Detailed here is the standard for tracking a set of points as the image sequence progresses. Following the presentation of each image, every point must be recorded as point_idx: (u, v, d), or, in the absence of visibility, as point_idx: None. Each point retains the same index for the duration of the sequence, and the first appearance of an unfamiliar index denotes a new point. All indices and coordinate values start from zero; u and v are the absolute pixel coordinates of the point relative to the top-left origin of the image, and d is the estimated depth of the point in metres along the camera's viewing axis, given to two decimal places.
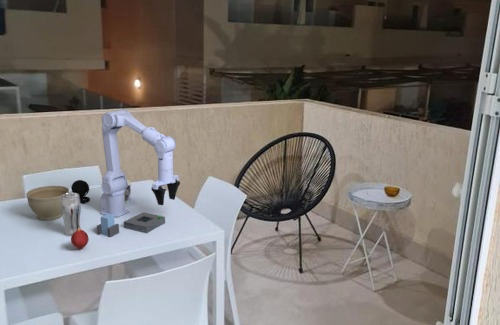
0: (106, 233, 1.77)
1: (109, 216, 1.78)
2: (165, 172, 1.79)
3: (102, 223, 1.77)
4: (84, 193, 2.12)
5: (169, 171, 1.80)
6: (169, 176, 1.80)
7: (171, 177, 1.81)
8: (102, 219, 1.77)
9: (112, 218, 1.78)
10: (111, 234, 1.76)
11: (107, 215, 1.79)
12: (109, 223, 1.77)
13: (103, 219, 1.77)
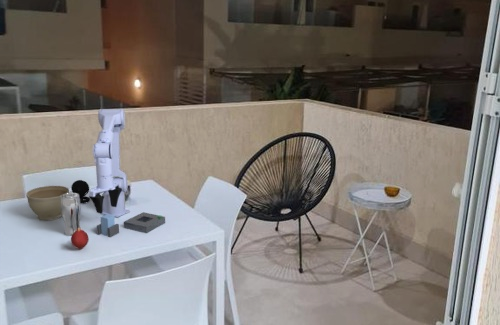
0: (106, 233, 1.77)
1: (109, 216, 1.78)
2: (103, 178, 1.71)
3: (102, 223, 1.77)
4: (84, 193, 2.12)
5: (108, 177, 1.72)
6: (108, 183, 1.72)
7: (110, 184, 1.73)
8: (102, 219, 1.77)
9: (112, 218, 1.78)
10: (111, 234, 1.76)
11: (107, 215, 1.79)
12: (109, 223, 1.77)
13: (103, 219, 1.77)
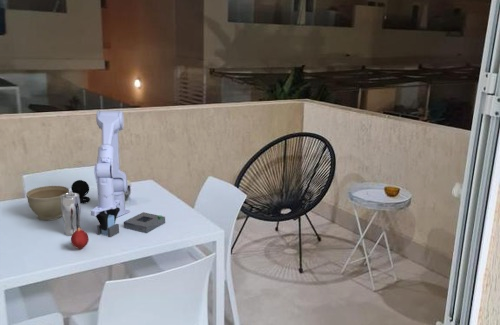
0: (106, 233, 1.77)
1: (109, 216, 1.78)
2: (104, 198, 1.73)
3: None
4: (84, 193, 2.12)
5: (109, 197, 1.74)
6: (109, 202, 1.74)
7: (111, 203, 1.75)
8: None
9: (112, 218, 1.78)
10: (111, 234, 1.76)
11: None
12: (109, 223, 1.77)
13: None
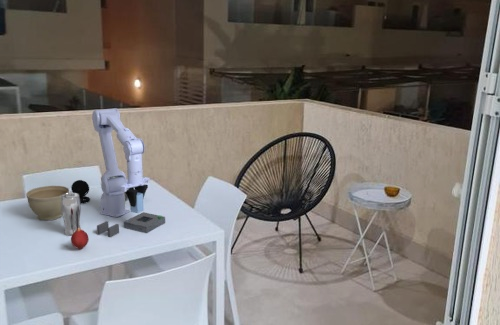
0: (135, 210, 1.82)
1: (138, 194, 1.82)
2: (134, 174, 1.78)
3: None
4: (84, 193, 2.12)
5: (138, 173, 1.78)
6: (138, 178, 1.79)
7: (140, 179, 1.80)
8: None
9: (141, 196, 1.83)
10: (111, 234, 1.76)
11: None
12: (138, 200, 1.81)
13: None
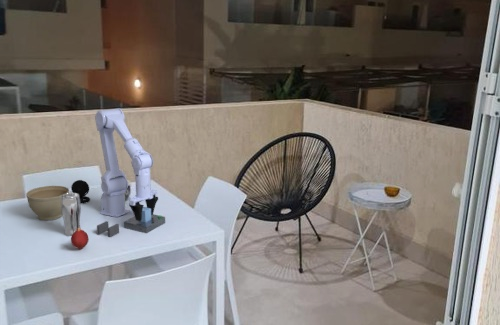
0: None
1: (146, 209, 1.86)
2: (142, 188, 1.81)
3: None
4: (84, 193, 2.12)
5: (146, 187, 1.82)
6: (146, 192, 1.82)
7: (149, 193, 1.83)
8: None
9: (149, 211, 1.86)
10: (111, 234, 1.76)
11: (144, 208, 1.87)
12: (146, 215, 1.85)
13: None
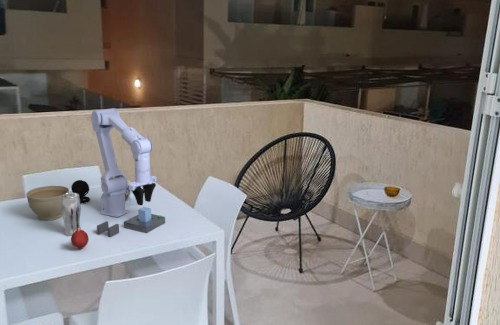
0: None
1: (146, 209, 1.86)
2: (142, 173, 1.79)
3: (139, 215, 1.86)
4: (84, 193, 2.12)
5: (146, 172, 1.80)
6: (146, 177, 1.81)
7: (148, 178, 1.81)
8: (140, 211, 1.85)
9: (149, 211, 1.86)
10: (111, 234, 1.76)
11: (144, 208, 1.87)
12: (146, 215, 1.85)
13: (141, 211, 1.85)
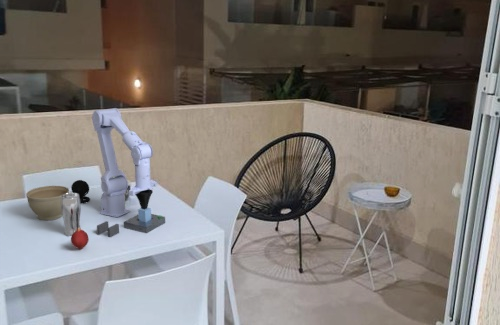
0: None
1: (146, 209, 1.86)
2: (142, 179, 1.80)
3: (139, 215, 1.86)
4: (84, 193, 2.12)
5: (146, 178, 1.81)
6: (146, 182, 1.81)
7: (148, 183, 1.82)
8: (140, 211, 1.85)
9: (149, 211, 1.86)
10: (111, 234, 1.76)
11: None
12: (146, 215, 1.85)
13: (141, 211, 1.85)
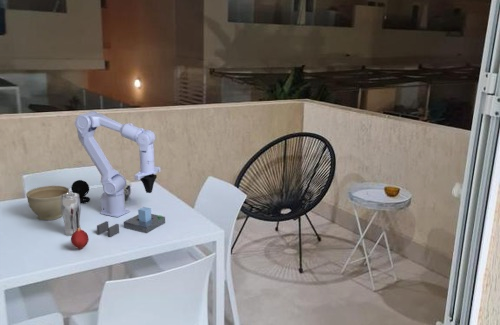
0: None
1: (146, 209, 1.86)
2: (146, 164, 1.89)
3: (139, 215, 1.86)
4: (84, 193, 2.12)
5: (150, 163, 1.90)
6: (150, 167, 1.90)
7: (152, 168, 1.91)
8: (140, 211, 1.85)
9: (149, 211, 1.86)
10: (111, 234, 1.76)
11: (144, 208, 1.87)
12: (146, 215, 1.85)
13: (141, 211, 1.85)
